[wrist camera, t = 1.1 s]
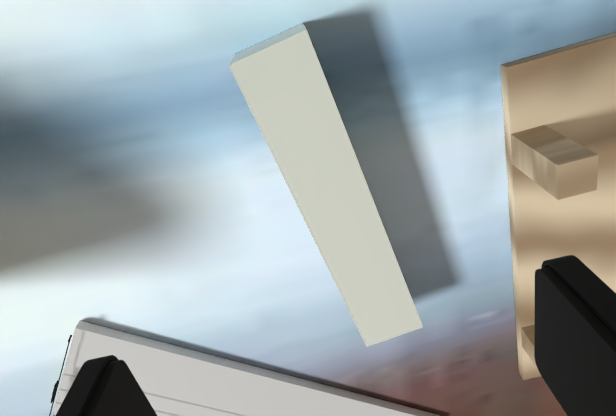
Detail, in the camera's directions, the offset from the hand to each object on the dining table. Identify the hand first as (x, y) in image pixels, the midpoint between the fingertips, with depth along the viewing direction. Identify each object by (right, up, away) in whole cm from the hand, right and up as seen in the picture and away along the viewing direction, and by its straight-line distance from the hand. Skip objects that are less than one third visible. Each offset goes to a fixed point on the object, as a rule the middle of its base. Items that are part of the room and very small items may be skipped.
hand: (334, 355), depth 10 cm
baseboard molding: (-5, -14, +28) cm, 32 cm away
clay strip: (+1, +5, +18) cm, 19 cm away
